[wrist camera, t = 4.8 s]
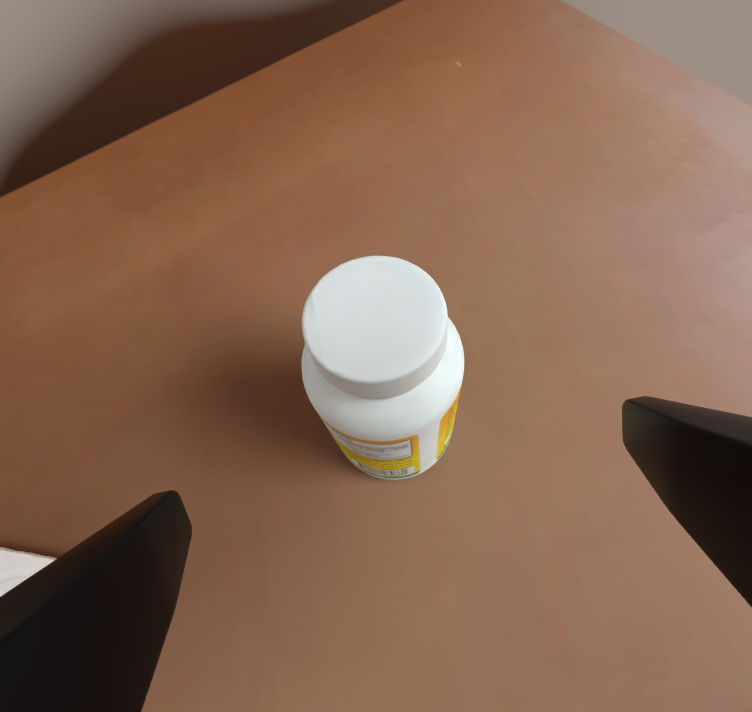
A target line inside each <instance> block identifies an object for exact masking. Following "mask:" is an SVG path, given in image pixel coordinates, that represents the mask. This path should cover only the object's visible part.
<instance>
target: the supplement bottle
mask: <svg viewBox="0 0 752 712" xmlns="http://www.w3.org/2000/svg"><path fill="white" fill-rule="evenodd" d="M302 331H303V337H304V340H305V346H304V350H303V355H302V378H303V383H304V387H305V390H306V393H307V395H308V398H309V400H310V402H311V404H312V405H313V407H314V409H315V410H316V412H317V413H318V415H319V416H320V418H321V419H322V421H323V422H324V424H325V425H326V427H327V428H328V430H329V431H330V433H331V435H332V436H333V438H334V439H335V441H336V442H337V444H338V445H339V447H340V448H341V450H342V452H343V453H344V454H345V456H346V457H347V458H348V459H349V461H350V462H351V463H352V464H354V465H355V466H356V467H357V468H358V469H360V470H361V471H363V472H365V473H367V474H368V475H371V476H374V477H377V478H381V479H387V480H401V479H407V478H410V477H413V476H416V475H418V474H421V473H423V472H424V471H426V470H427V469H429V468H430V467H431V466H433V465H434V464H435V463H436V462H437V461H438V460H439V458H440V457H441V456H442V455H443V453H444V452H445V450H446V448H447V446H448V444H449V441H450V438H451V434H452V431H453V425H454V420H455V415H456V410H457V405H458V400H459V395H460V390H461V385H462V380H463V373H464V352H463V346H462V343H461V339H460V337H459V334H458V332H457V330H456V328H455V326H454V324H453V323H452V321H451V320H450V319H449V317H448V316H447V308H446V304H445V300H444V297H443V295H442V292H441V290H440V289H439V287H438V285H437V284H436V283H435V281H434V280H433V279H432V278H431V277H430V276H429V275H428V274H427V273H426V272H425V271H423V270H422V269H421V268H419V267H418V266H416V265H414V264H412V263H410V262H408V261H405V260H402V259H399V258H395V257H389V256H367V257H361V258H357V259H354V260H351V261H348V262H345V263H343V264H341V265H339V266H337V267H336V268H334V269H332V270H331V271H330V272H328V273H327V274H326V275H325V276H324V277H323V278H321V279H320V280H319V282H318V283H317V284H316V285H315V286H314V288H313V290H312V291H311V293H310V295H309V297H308V298H307V301H306V303H305V306H304V310H303V314H302Z"/></svg>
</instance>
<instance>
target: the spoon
mask: <svg viewBox="0 0 752 712" xmlns="http://www.w3.org/2000/svg"><path fill="white" fill-rule="evenodd" d="M56 559H57V558H54V557H51V556H43V555H39V554H35V553H31V552H24V551H16V550H12V549H8V548H5V547H0V597H1V596H2V595H4V594H5V593H7V592H8V591H9V590H11V589H12V588H14V587H15V586H17V585H18V584H20V583H21V582H23V581H24V580H26V579H27V578H29V577H30V576H32V575H33V574H35V573H36V572H38V571H39V570H41V569H42V568H44V567H45V566H47V565H48V564H50V563H51V562H53V561H54V560H56Z"/></svg>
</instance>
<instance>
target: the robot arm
mask: <svg viewBox="0 0 752 712" xmlns="http://www.w3.org/2000/svg"><path fill="white" fill-rule="evenodd" d="M622 431H623V442H624V445H625V447H626V449H627V451H628V452H629V454H630V455H631V457H632V458H633V459H634V461H635V462H636V464H637V465H638V467H639V468H640V470H641V471H642V473H643V474H644V475H645V477H646V478H647V480H648V481H649V483H650V484H651V486H652V487H653V488H654V490H655V491H656V493H657V494H658V496H659V497H660V499H661V500H662V502H663V503H664V504H665V506H666V507H667V508H668V510H669V511H670V512H671V514H672V515H673V516H674V517H675V518H676V520H677V521H678V522H679V523H680V524H681V526H682V527H683V528H684V529H685V530H686V531H687V533H688V534H689V535H690V536H691V537H692V538H693V540H694V541H695V542H696V543H697V544H698V545H699V547H700V548H701V549H702V550H703V551H704V552H705V554H706V555H707V556H708V557H709V558H710V559H711V561H712V562H713V563H714V564H715V565H716V566H717V568H718V569H719V570H720V571H721V572H722V573H723V575H724V576H725V577H726V578H727V579H728V580H729V582H730V583H731V584H732V585H733V586H734V587H735V589H736V590H737V591H738V592H739V593H740V594H741V596H742V597H743V598H744V599H745V600H746V601H747V603H748V604H749V605H750V606H751V607H752V417H748V416H743V415H738V414H733V413H728V412H723V411H718V410H713V409H708V408H703V407H698V406H693V405H688V404H683V403H678V402H673V401H668V400H663V399H658V398H653V397H648V396H642V397H637V398H632V399H628V400H626V401H625V402H624V403H623V406H622ZM191 536H192V526H191V522H190V520H189V517H188V515H187V512H186V510H185V507H184V505H183V502H182V500H181V497H180V496H179V494H178V493H177V492H176V491H174V490H170V491H165V492H160V493H156V494H153V495H152V496H150V497H149V498H147V499H146V500H144V501H143V502H141V503H140V504H138V505H137V506H135V507H134V508H132V509H131V510H129V511H128V512H126V513H125V514H123V515H122V516H120V517H119V518H117V519H116V520H114V521H113V522H111V523H110V524H108V525H107V526H105V527H104V528H102V529H101V530H99V531H98V532H96V533H95V534H93V535H92V536H90V537H89V538H87V539H86V540H84V541H83V542H81V543H80V544H78V545H77V546H75V547H74V548H72V549H71V550H69V551H68V552H66V553H65V554H63V555H62V556H60V557H59V558H57V559H56V560H54V561H53V562H51V563H50V564H48V565H47V566H45V567H44V568H42V569H41V570H39V571H38V572H36V573H35V574H33V575H32V576H30V577H29V578H27V579H26V580H24V581H23V582H21V583H20V584H18V585H17V586H15V587H14V588H12V589H11V590H9V591H8V592H7V593H5V594H4V595H2V596H1V597H0V712H141V711H142V708H143V705H144V702H145V699H146V696H147V693H148V690H149V687H150V684H151V681H152V678H153V675H154V672H155V669H156V666H157V663H158V660H159V657H160V654H161V651H162V648H163V645H164V642H165V638H166V635H167V632H168V629H169V626H170V623H171V620H172V617H173V614H174V610H175V607H176V603H177V599H178V595H179V591H180V586H181V582H182V577H183V572H184V568H185V563H186V559H187V554H188V550H189V545H190V541H191Z"/></svg>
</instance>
